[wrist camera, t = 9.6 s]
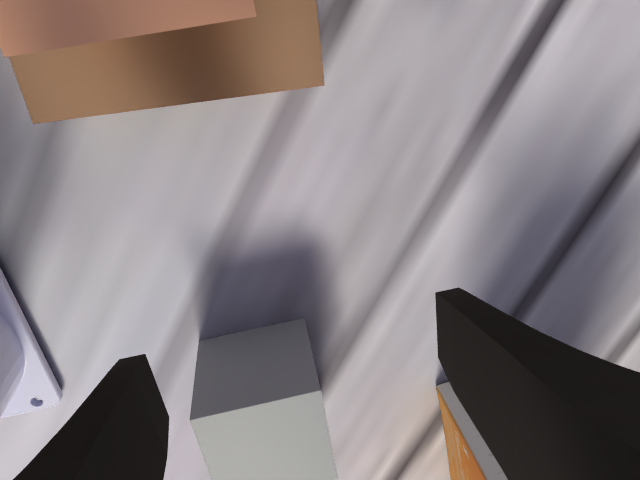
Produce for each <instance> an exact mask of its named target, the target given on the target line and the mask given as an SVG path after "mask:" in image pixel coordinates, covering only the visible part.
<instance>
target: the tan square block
mask: <svg viewBox="0 0 640 480" xmlns="http://www.w3.org/2000/svg"><path fill="white" fill-rule="evenodd" d="M254 5H255V10H256V16H257V17H252V18H245V19H239V20H233V21H227V22H221V23H214V24H208V25H202V26H196V27H190V28H183V29H177V30H171V31H165V32H159V33H153V34H146V35H140V36H134V37H128V38H122V39H115V40H109V41H103V42H97V43H91V44H84V45H78V46H72V47H66V48H60V49H54V50H47V51H41V52H35V53H29V54H23V55H16V56H10V57H9V59H10V62H11V64H12V67H13V70H14V73H15V75H16V78H17V81H18V84H19V86H20V89H21V92H22V95H23V98H24V100H25V103H26V106H27V109H28V111H29V114H30V117H31V120H32V122H33V124H36V123H44V122H51V121H59V120H67V119H74V118H82V117H89V116H97V115H105V114H112V113H120V112H127V111H135V110H142V109H150V108H158V107H165V106H173V105H180V104H188V103H195V102H203V101H211V100H218V99H226V98H233V97H241V96H248V95H256V94H264V93H271V92H279V91H286V90H294V89H301V88H309V87H317V86H324V75H323V65H322V55H321V44H320V34H319V23H318V13H317V2H316V0H254Z"/></svg>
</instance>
